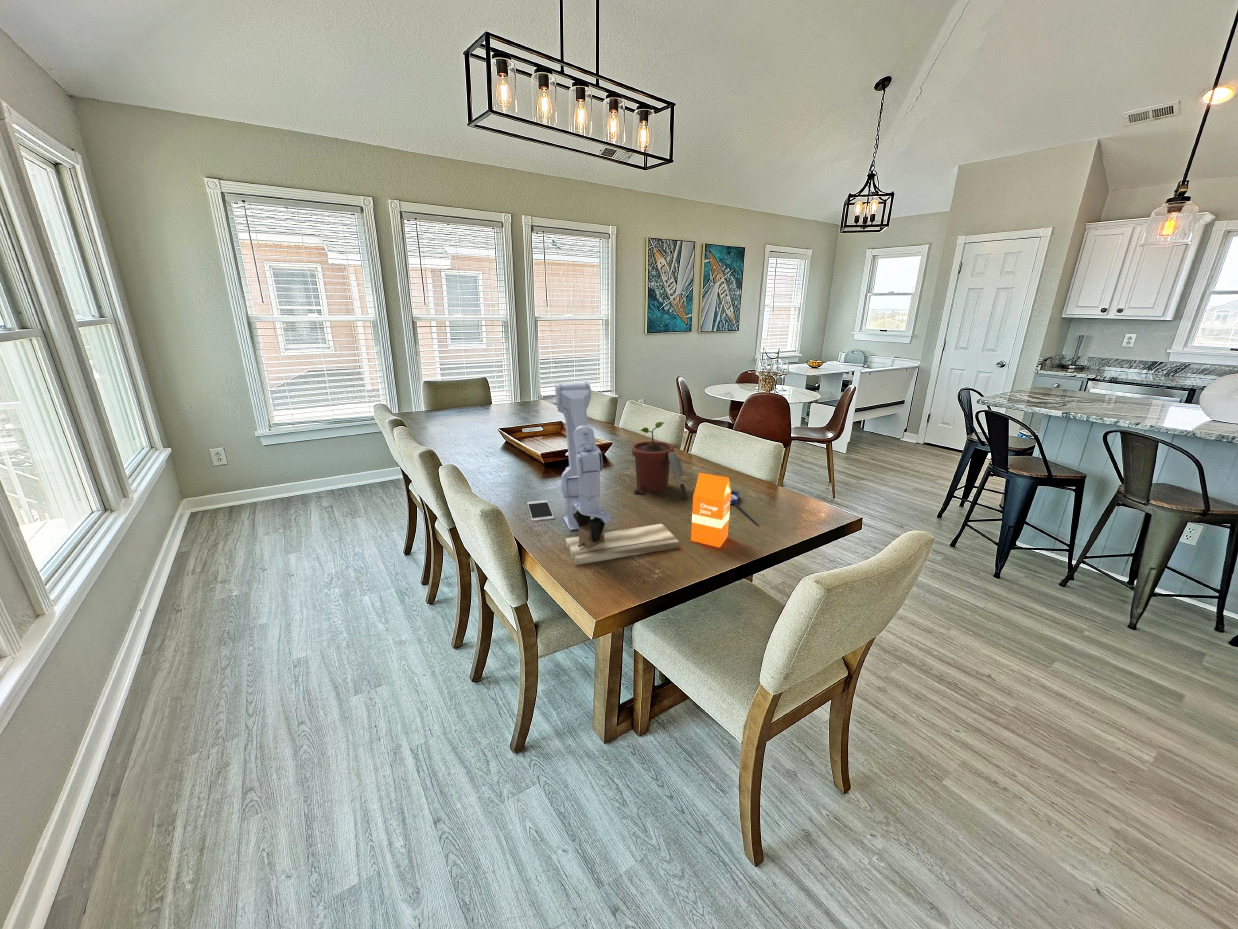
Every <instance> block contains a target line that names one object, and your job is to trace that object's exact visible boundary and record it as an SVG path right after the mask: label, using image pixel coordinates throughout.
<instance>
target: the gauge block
mask: <svg viewBox="0 0 1238 929" xmlns="http://www.w3.org/2000/svg"><path fill="white" fill-rule="evenodd" d="M604 532H605V527H604V528H603V530H602V533H601V537H600V541H598V542H595V543H594V542H593V540H592V532H591V528H590V525H589V523H588V524H586V525H584V526H581V527H579V529H578V536H579V545H578V547H581V546H585V547H587V548H591V547H593V546H595V545H597V544H599V543H602V542H604Z"/></svg>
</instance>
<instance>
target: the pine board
mask: <svg viewBox="0 0 1238 929" xmlns="http://www.w3.org/2000/svg"><path fill="white" fill-rule="evenodd" d="M679 541H680V540H678V539H677V538H676V537H675V535H674V534H672V533H671V532H670V531H669V529H668V528H667V527H666V526H665V525H664V523H658V524H657V523H656V524H650V525H644V526H638V527H631V528H624V529H618V530H612V531H604V542H602V543H599V544H597V545H595V546H593V547H591V548H587V547H585V546H581V547H578V545H579V535H577V536H573V537H566V538H565V546H566V548H567V550H568V552H569V554H570V556H571V558H572V561H573V562H574V564H575V565H576V566H578V565H583V564H591V563H595V562H603V561H608V560H613V559H619V558H624V557H631V556H636V555H637V556H639V555H643V554H648V553H655V552H659V551H660V552H661V551H666V550H672V549H678V548H679V544H680V543H679Z"/></svg>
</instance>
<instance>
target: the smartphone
mask: <svg viewBox="0 0 1238 929" xmlns="http://www.w3.org/2000/svg"><path fill="white" fill-rule="evenodd" d="M526 505H527V508H528V512H529V515H530V518H531V521H532V522H533V523H535V522H541V521H542V520H543V521H549V520H550V521H551V520H554V519H555V516H554V513H553V511H552V509H551V506H550V503H549V500H547V499H544V500H543V499H542V500H534V501H527V502H526Z"/></svg>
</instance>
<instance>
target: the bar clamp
mask: <svg viewBox="0 0 1238 929" xmlns="http://www.w3.org/2000/svg"><path fill="white" fill-rule="evenodd" d="M739 498H740V493H739V491H737V490H734V489H731V500H730V504H734V507H736V508H737V509H738V510H739V511H740V512H741V513H742V514H743V515H744V516H745V517H746V518H747V517H748V518H749V519H748V518H747V519H748V520H749V521H751V522H752V523H753V524H754V525H755V526H758V527H760V524H758V522H757V521H755V519H753V518H752V517H751V516H750V515H749V514H748V513H747V512H746V511H745V510H744V509H743V508H742V507H741V506H740V505H739V504H737V503H739V500H738V499H739Z"/></svg>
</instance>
